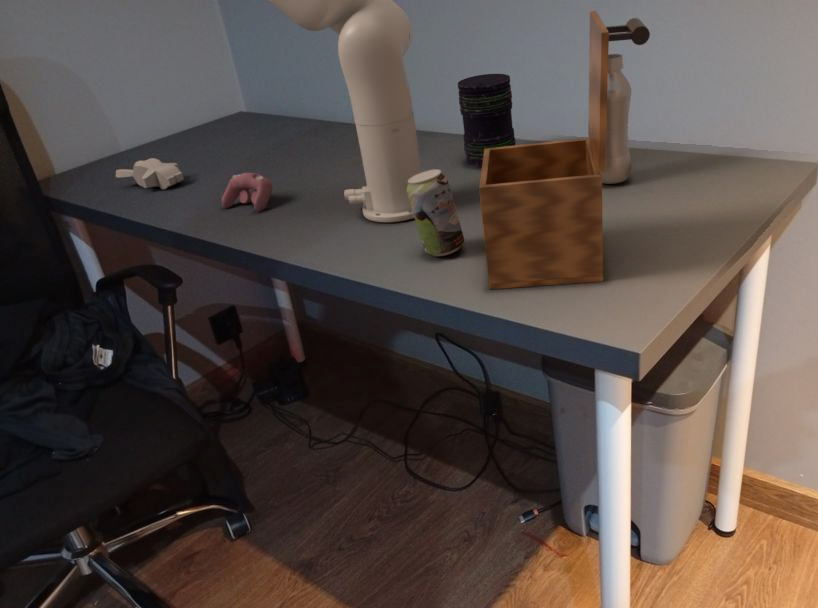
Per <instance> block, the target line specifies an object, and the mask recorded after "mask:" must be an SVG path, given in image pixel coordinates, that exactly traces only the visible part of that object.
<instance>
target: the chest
mask: <svg viewBox="0 0 818 608" xmlns="http://www.w3.org/2000/svg"><path fill="white" fill-rule="evenodd" d="M478 190H479V200H480V211H481V219H482V228H483V238H484V239H483V240H484V247H485V257H486V267H487V278H488V287H489V290H501V289H514V288H528V287H540V286H541V287H543V286H544V287H545V286H557V285H569V284H570V285H572V284H584V283H585V284H586V283H600V282H604V237H603V235H604V233H603V232H604V231H603V228H604V227H603V183H602V175H601V172H598V169H597V165H596V161H595V157H594V154H593V150H592V146H591V142H590V139H589V137H585V138H584V137H583V138H575V139H565V140H556V141H554V140H553V141H545V142H537V143H526V144H515V146H505V147H496V148H486V149H484V156H483V163H482V168H481V172H480V179H479V186H478Z"/></svg>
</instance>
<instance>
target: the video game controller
mask: <svg viewBox="0 0 818 608" xmlns="http://www.w3.org/2000/svg"><path fill="white" fill-rule="evenodd" d="M273 185H274V184H273V183H272V181H271V180H270V179H269V178H267V177H265V176H264V175H262V174H259V173H255V172H243V173H241V174H234V175H232V177H231V178H230V180H229V181H228V184H227V186H226V189H225V191H224V193H223V195H222V197H221V205H222V207H223V208H225V209H229V208H230V207H232V205H234V203H235V202H236V200H237V198H238V199H239V202H240V203H241V204H250V203H251V204H253V209H254V210H255V211H256V212H261V211H263V210H264V209H265V208H266V206H267V205H268V202H269V200H270V196H271V194H272V192H273ZM250 190H254V191H253V192H252V193H251V191H250Z"/></svg>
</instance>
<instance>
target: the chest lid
mask: <svg viewBox="0 0 818 608" xmlns="http://www.w3.org/2000/svg"><path fill="white" fill-rule="evenodd" d="M650 35H651V32H650V30H649V28H648V27H647V26H646V25H645V24H644V22H643V21H642V20H641V19H639V18H637V17H633V18H630V19H629V20H628V21H627V22H626V24H620V25H609V26H606V25H605V23H604V21H603V20H602V18H601V16H600V14H599V13H598V11H597V10H590V11H589V49H588V50H589V52H588V53H589V54H588V55H589V56H588V57H589V58H588V60H589V61H588V123H587V124H588V125H587V126H588V129H587V130H588V131H587V132H588V133H587V134H588V138H589V139H590V142H591V146H592V150H593V154H594V157H595V161H596V165H597V169H598V172H605V163H606V125H607V86H608V55H609V43H610V42H619V41H632V43H633V44H635V45H636V46H643V45H645V44H646V43H647V42H648V41H649V39H650V37H651V36H650Z"/></svg>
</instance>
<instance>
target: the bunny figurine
mask: <svg viewBox="0 0 818 608" xmlns="http://www.w3.org/2000/svg"><path fill="white" fill-rule="evenodd" d="M129 177H132V178H133V179H134V181H135V182H136V183H137V185H138V186H140V187H142V188H143V189H149V188H155V187H159V189H160V190H162V191H164V190H166V189H169V188H170V187H173V186H174V185H176V184H179V183H181V182H182V181H184V180H185V178H184V174H183V172H182V171H180V168H179V164H178V163H176V162H162V161H161V160H160V159H157V158H154V157H153V158H152V157H151V158H150V157H149V158H147V159H146V160H138V161H135V162H134V164H133V167H132V169H127V168H120V169H116V171H115V178H129Z"/></svg>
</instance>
